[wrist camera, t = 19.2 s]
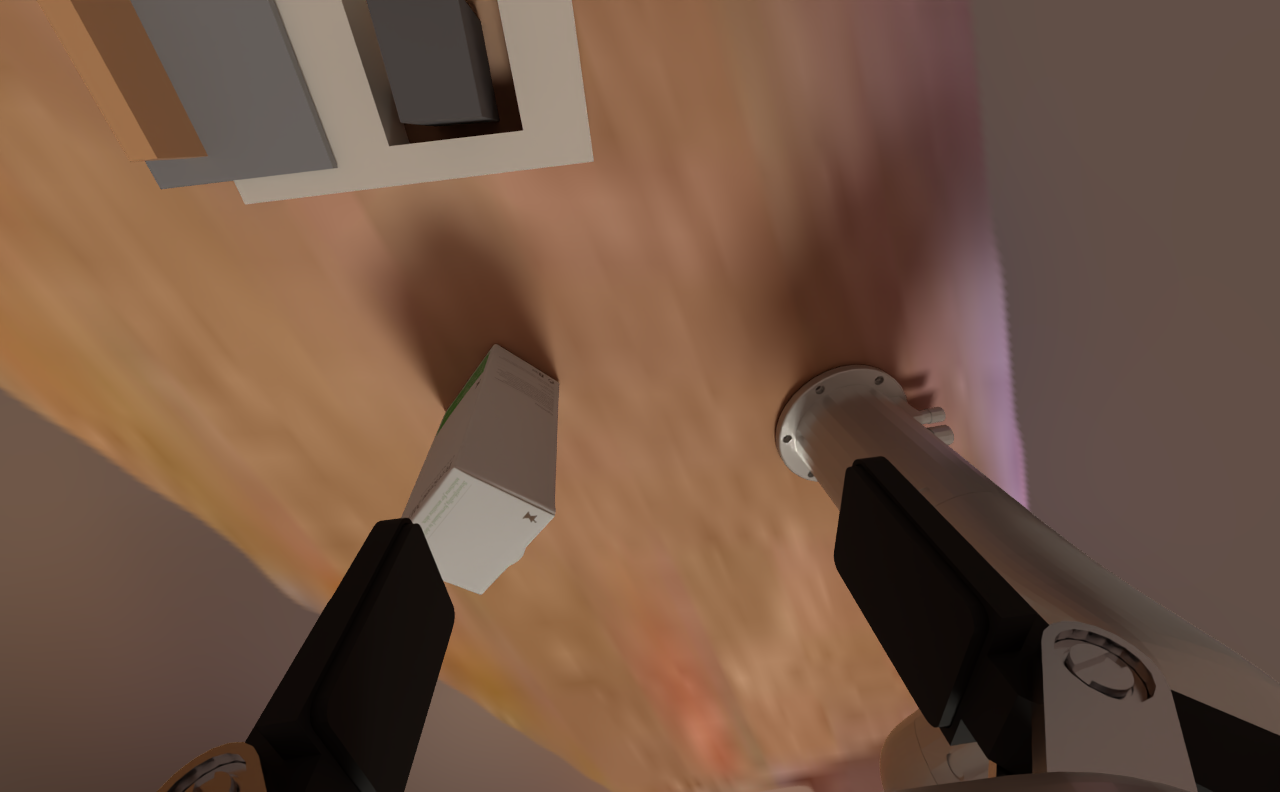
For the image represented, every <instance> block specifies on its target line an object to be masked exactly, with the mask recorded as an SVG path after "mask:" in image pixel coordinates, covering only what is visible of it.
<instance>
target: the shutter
mask: <svg viewBox="0 0 1280 792" xmlns="http://www.w3.org/2000/svg"><path fill="white" fill-rule="evenodd" d="M37 2H38V3H39V5H40V7H41V9H42V10H43V12H44V14H45V15H46V17H47V19H48V21H49V22H50V24H51V26H52V28H53V29H54V31H55V33H56V35H57V36H58V38H59V40H60V41H61V43H62V45H63V47H64V48H65V50H66V52H67V54H68V55H69V57H70V59H71V61H72V62H73V64H74V66H75V67H76V69H77V71H78V73H79V74H80V76H81V78H82V80H83V81H84V83H85V85H86V86H87V88H88V90H89V92H90V93H91V95H92V97H93V99H94V100H95V102H96V104H97V106H98V107H99V109H100V111H101V112H102V114H103V116H104V118H105V119H106V121H107V123H108V125H109V126H110V128H111V130H112V132H113V133H114V135H115V137H116V138H117V140H118V142H119V144H120V145H121V147H122V149H123V151H124V152H125V154H126V156H127V158H128V159H129V161H130V162H134V161H145V162H146V164H147V166H148V167H149V169H150V171H151V173H152V174H153V176H154V178H155V180H156V182H157V183H158V185H159V187H160V189H167V188H175V187H183V186H192V185H200V184H208V183H217V182H225V181H233V180H242V179H250V178H258V177H267V176H275V175H283V174H292V173H300V172H308V171H317V170H325V169H333V168H338V167H337V164H336V162H335V159H334V156H333V154H332V151H331V148H330V146H329V143H328V141H327V138H326V135H325V133H324V130H323V128H322V125H321V122H320V120H319V117H318V114H317V112H316V109H315V107H314V104H313V101H312V99H311V96H310V93H309V91H308V88H307V86H306V83H305V80H304V78H303V75H302V73H301V70H300V67H299V65H298V62H297V59H296V57H295V54H294V52H293V49H292V46H291V44H290V41H289V39H288V36H287V33H286V31H285V28H284V25H283V23H282V20H281V18H280V15H279V12H278V10H277V7H276V5H275V2H274V0H37Z"/></svg>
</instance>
